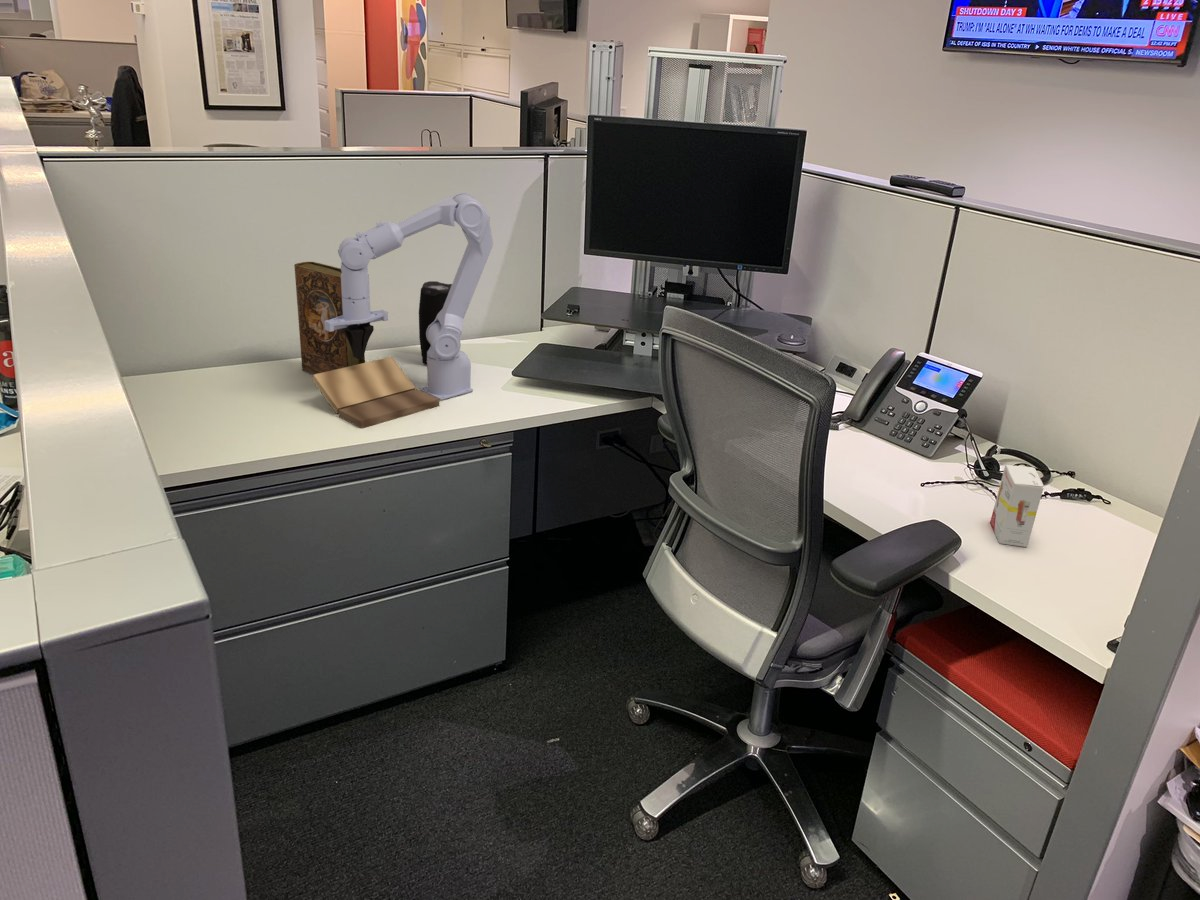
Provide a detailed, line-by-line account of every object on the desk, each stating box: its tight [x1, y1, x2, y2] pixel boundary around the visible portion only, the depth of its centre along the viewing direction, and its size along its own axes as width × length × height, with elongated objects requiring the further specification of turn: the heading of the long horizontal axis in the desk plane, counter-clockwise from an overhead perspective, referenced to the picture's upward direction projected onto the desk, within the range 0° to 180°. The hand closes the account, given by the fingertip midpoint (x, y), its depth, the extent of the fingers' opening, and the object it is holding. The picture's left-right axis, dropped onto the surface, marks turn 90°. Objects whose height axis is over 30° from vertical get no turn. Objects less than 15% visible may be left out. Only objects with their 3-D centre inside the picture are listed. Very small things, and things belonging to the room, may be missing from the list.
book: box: [293, 261, 366, 375], centre depth 208 cm, size 16×6×25 cm, turn 58°
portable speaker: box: [418, 280, 452, 364], centre depth 221 cm, size 9×9×20 cm
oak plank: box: [311, 356, 417, 414], centre depth 198 cm, size 20×10×2 cm
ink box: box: [989, 464, 1044, 548], centre depth 158 cm, size 9×5×12 cm, turn 168°
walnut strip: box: [338, 388, 440, 429], centre depth 194 cm, size 20×8×2 cm, turn 138°
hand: (358, 357), depth 197 cm, fingers closed
